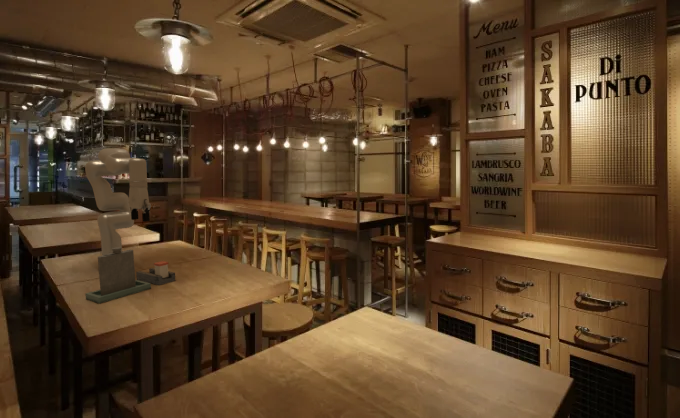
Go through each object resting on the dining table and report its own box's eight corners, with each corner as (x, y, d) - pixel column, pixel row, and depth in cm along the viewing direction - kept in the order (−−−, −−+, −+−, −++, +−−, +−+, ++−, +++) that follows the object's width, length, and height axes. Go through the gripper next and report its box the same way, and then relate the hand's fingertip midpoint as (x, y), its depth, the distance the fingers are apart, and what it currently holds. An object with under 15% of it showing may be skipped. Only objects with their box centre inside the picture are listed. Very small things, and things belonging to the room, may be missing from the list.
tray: (85, 299, 172) (85, 293, 171) (137, 285, 191) (136, 279, 191) (99, 303, 166) (99, 297, 166) (151, 288, 185) (150, 283, 185)
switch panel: (136, 279, 200) (136, 271, 199) (153, 275, 207) (152, 267, 207) (158, 285, 190) (158, 277, 190) (175, 280, 198) (174, 272, 198)
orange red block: (154, 277, 195) (153, 263, 194) (163, 275, 199) (162, 261, 198) (160, 278, 193) (159, 264, 192) (169, 276, 197) (168, 262, 196)
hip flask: (132, 286, 186) (129, 244, 184) (138, 287, 185) (135, 244, 182) (99, 296, 172) (95, 251, 170) (105, 298, 170) (101, 251, 168)
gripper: (120, 184, 192) (123, 219, 194) (141, 186, 182) (143, 223, 185) (136, 183, 198) (138, 217, 200) (156, 185, 189) (158, 221, 191)
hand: (140, 220), depth 192 cm, fingers open, 9 cm apart
